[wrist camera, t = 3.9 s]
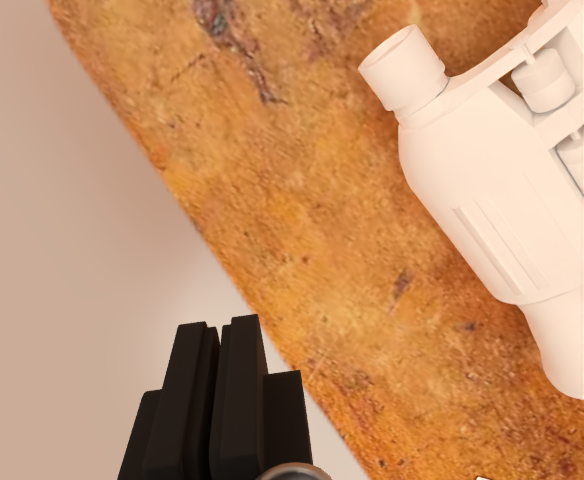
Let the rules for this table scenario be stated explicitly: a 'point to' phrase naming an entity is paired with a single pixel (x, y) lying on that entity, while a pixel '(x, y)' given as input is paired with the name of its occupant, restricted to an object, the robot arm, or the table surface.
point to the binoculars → (504, 167)
